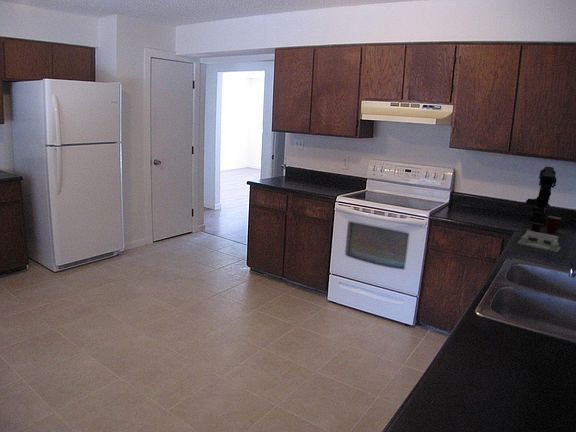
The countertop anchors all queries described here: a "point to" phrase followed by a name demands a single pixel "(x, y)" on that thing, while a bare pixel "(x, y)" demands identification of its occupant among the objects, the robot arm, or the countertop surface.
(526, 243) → the stand
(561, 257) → the countertop surface
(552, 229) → the mug
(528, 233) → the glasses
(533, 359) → the countertop surface
